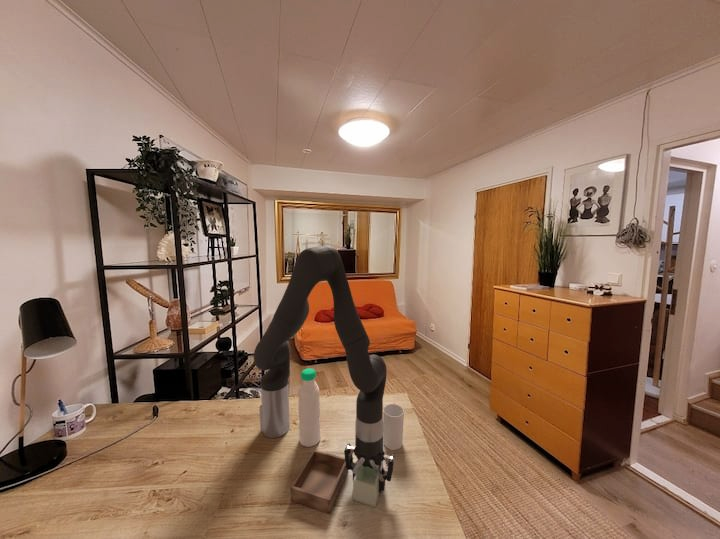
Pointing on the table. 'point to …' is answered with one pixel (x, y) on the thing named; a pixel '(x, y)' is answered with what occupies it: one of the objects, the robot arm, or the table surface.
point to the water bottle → (309, 409)
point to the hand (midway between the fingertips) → (368, 486)
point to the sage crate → (366, 486)
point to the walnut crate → (319, 481)
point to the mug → (393, 426)
